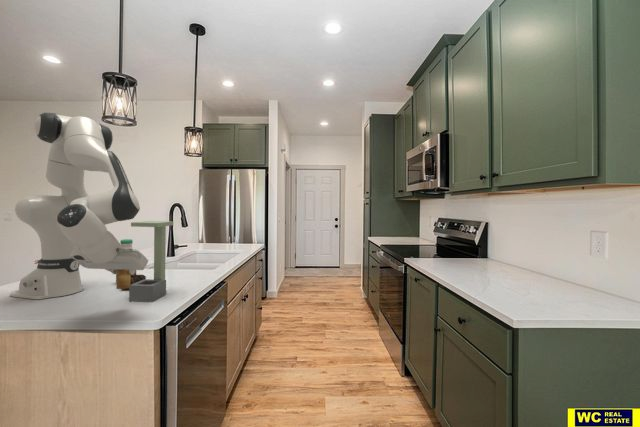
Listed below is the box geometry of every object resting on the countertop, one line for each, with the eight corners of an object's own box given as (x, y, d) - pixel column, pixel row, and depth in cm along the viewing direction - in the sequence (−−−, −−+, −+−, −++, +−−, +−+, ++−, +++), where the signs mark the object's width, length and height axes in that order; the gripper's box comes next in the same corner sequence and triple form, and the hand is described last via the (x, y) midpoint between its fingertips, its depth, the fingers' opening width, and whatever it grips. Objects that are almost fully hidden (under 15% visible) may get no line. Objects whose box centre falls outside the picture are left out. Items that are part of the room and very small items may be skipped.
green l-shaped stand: (130, 299, 110) (131, 222, 109) (149, 290, 122) (150, 220, 121) (156, 300, 110) (157, 223, 109) (173, 291, 122) (173, 221, 121)
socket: (129, 301, 108) (129, 285, 108) (144, 293, 117) (144, 279, 117) (152, 301, 108) (152, 286, 108) (166, 294, 117) (166, 279, 117)
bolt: (144, 285, 136) (128, 294, 121) (134, 280, 135) (117, 288, 120) (151, 274, 136) (136, 282, 121) (141, 269, 135) (124, 276, 121)
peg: (113, 288, 97) (113, 262, 97) (121, 285, 101) (122, 260, 101) (125, 289, 97) (125, 262, 97) (133, 286, 101) (133, 260, 101)
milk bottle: (120, 286, 127) (121, 241, 126) (112, 283, 131) (113, 239, 131) (139, 282, 133) (139, 239, 133) (131, 280, 138) (131, 238, 137)
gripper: (140, 241, 91) (158, 265, 101) (77, 239, 92) (101, 264, 102) (130, 258, 87) (150, 281, 97) (64, 256, 87) (90, 280, 97)
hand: (124, 272), depth 99 cm, fingers closed on peg, 4 cm apart
